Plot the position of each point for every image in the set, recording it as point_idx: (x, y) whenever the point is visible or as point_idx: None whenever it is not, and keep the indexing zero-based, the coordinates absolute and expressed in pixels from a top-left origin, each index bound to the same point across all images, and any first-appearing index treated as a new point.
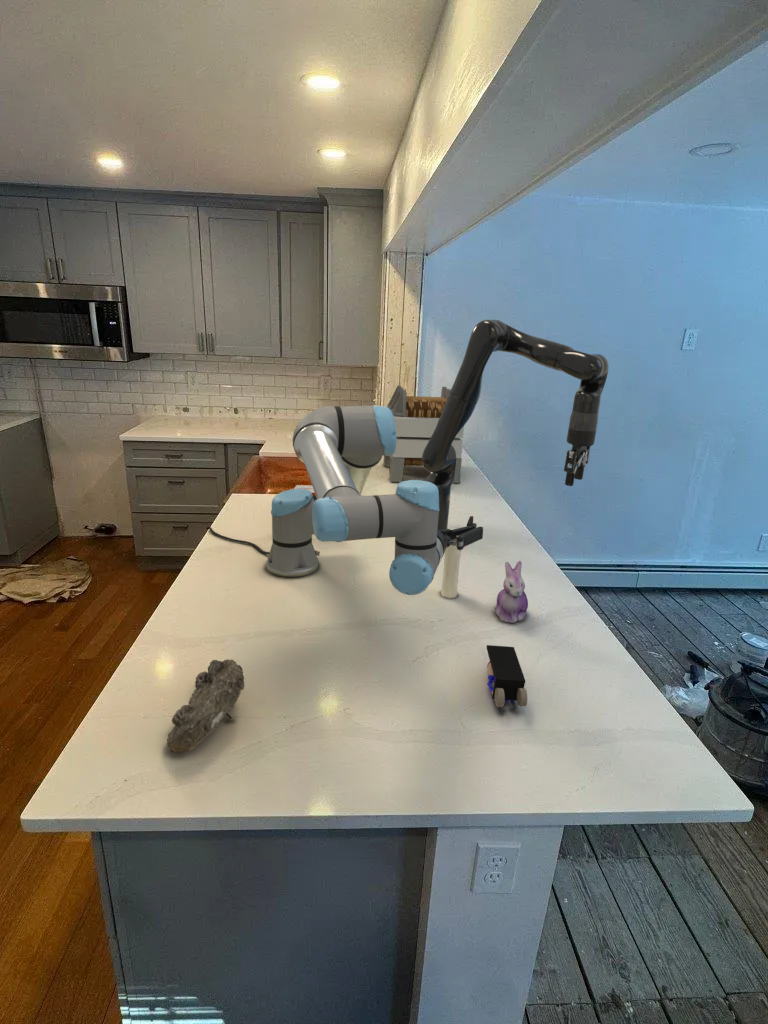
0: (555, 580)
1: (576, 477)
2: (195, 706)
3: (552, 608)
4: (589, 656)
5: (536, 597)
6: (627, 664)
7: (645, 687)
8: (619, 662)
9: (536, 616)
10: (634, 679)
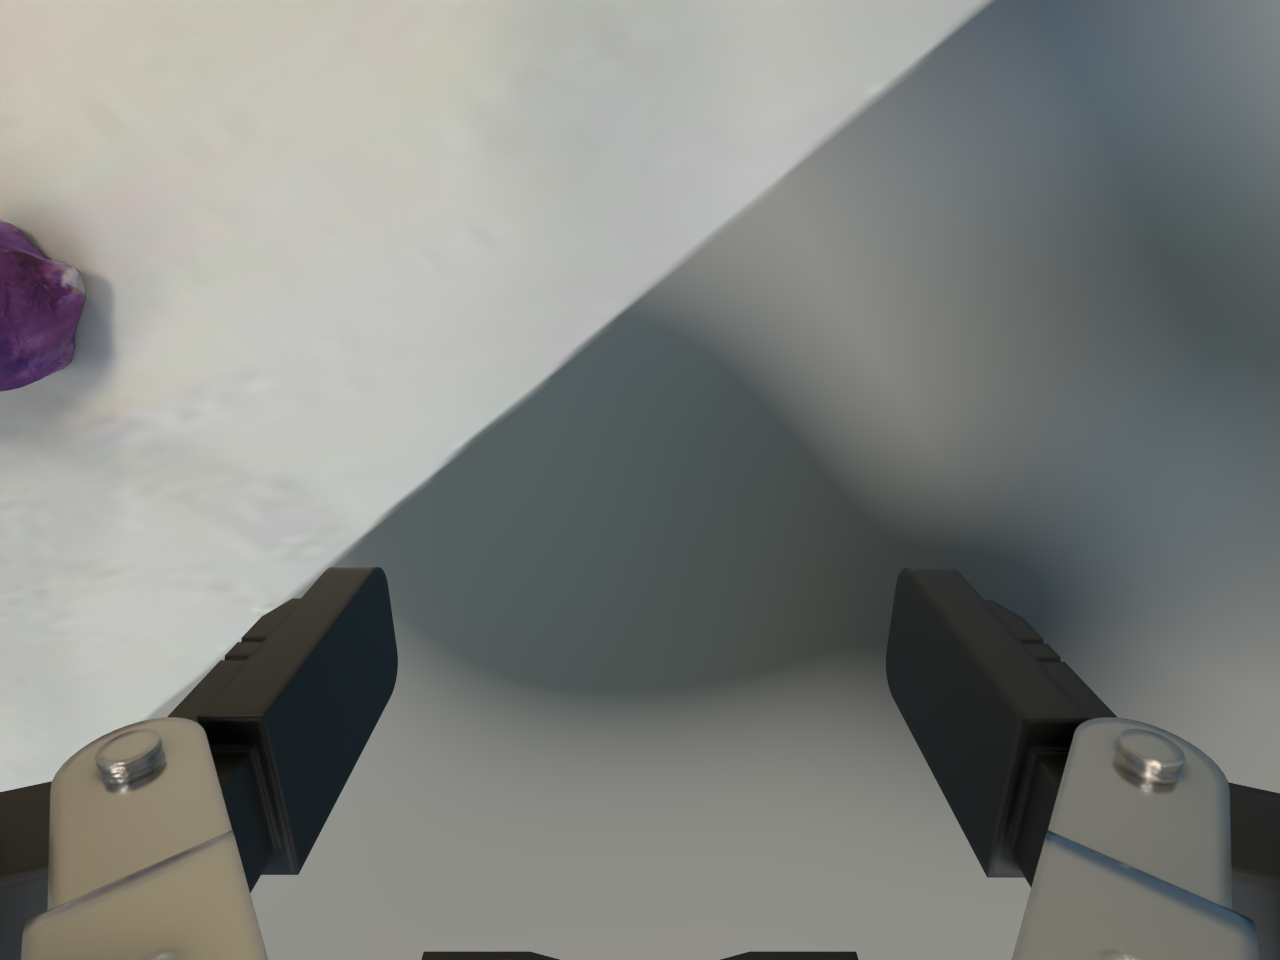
0: (534, 350)
1: (909, 606)
2: None
3: (236, 442)
4: (23, 662)
5: (274, 341)
6: None
7: None
8: (80, 741)
9: (106, 412)
10: None
